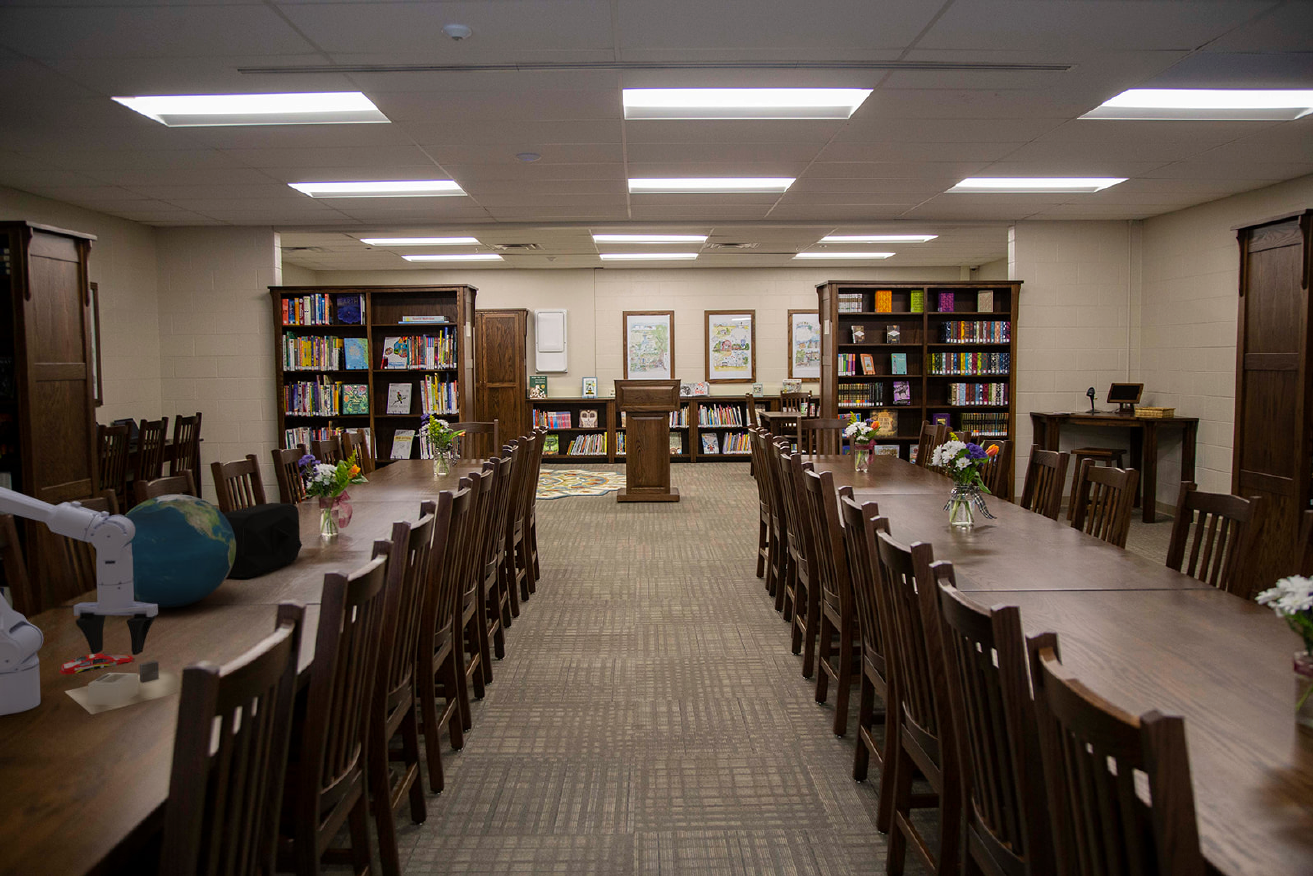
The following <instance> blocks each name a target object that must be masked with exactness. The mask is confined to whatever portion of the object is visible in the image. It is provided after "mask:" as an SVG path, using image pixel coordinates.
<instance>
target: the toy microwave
mask: <svg viewBox="0 0 1313 876" xmlns="http://www.w3.org/2000/svg"><path fill="white" fill-rule="evenodd" d="M87 686H89V705H121V704H122V703H124V702H126V701H127V700H129V699H131V698H132V697H134V696H136V695H137V694H138V673H137V672H136V673H132V672H127V673H125V672H108V673H105V674H103V675H101V676H100V677H98V678H96V679H94V680H92V681H90V682H88V685H87Z"/></svg>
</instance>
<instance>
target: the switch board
mask: <svg viewBox="0 0 1313 876" xmlns="http://www.w3.org/2000/svg"><path fill="white" fill-rule="evenodd" d="M159 668H160V667H159V661H158V660H153V661H147V662H142V663H139V674H138V694H137V695H136V696H134V697H132V698H131V699H129V700H127V701H126V702H124V703H122V704H121V705H89V686H88V685H86V686H81V687H78V688H73V689H69V690H64V693H66V694H67V695H68V696H69V697H70V698H71V699H72V700H74V701H75V702H76V703H77V704H79V705H80V706H81V707H82V708H83V709H85V710H86V711H87V712H89V714H91V715H95V714H99V713H104V712H108V711H111V710H115V709H119V708H123V707H126V706H127V707H128V706H131V705H135V704H140V703H143V702H148V701H151V700H154V699H160V698H164V697H167V696H171V695H176V694H179V687H180V678H181V677H182V676H181V675H179V674H177V673H176V672H175V671H172V670H171V669H170V668H169V667H166V668H161V669H159Z"/></svg>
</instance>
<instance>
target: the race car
mask: <svg viewBox="0 0 1313 876" xmlns="http://www.w3.org/2000/svg"><path fill="white" fill-rule="evenodd" d="M135 662H136V661H135V657H133V655H129V654H114V655H112V654H111V655H110V654H104V653H101V652H99V653H97V654H92V653H90V654H86V655H83V656H80V657H77V658H73V659H72V660H70V661H67V662H65V663H62V664H61V666H60V670H59V673H60V674H61V675H73V674H78V673H84V672H90V671H93V670H99V669H103V668H108V667H114V666H119V665H120V666H121V665H123V664H127V663H135Z"/></svg>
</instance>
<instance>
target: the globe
mask: <svg viewBox="0 0 1313 876" xmlns="http://www.w3.org/2000/svg"><path fill="white" fill-rule="evenodd" d="M223 514H224V513H223V512H222V511H220V510H219V509H218V508H217V507H216V506H215V505H213V504H211V503H210V502H208V501H206V500H204V499H202V498H199V497H196V496H192V495H187V494H177V493H176V494H164V495H160V496H159V495H158V496H157V497H156V496H155V497H152V498H150V499H147V500H145V501H143V502H140V503H139V504H137V505H136V506H134V507H133V508H131V509H130V510H129V511H128V512H127V513H125V515H123V516H124V517H126V518H128V519H130V520H131V521H132V522H133V524H134V526H135V535H134V537H133V539H132V540H131V541H130V542H129V543H132V556H133V590H134V601H135V600H136V602H142V603H149V604H158V608H164V609H166V608H167V609H170V608H172V609H173V608H179V607H186V606H188V605H191V604H195V603H197V602H199V601H202V600H203V599H205V598H207V597H208V596H210V595H211V594H212V593H214V592H215V591H216V590H217V589H218V588H220V586H221V585H222V584H223V583H224V581H225V580H226V578H228V577H227V576H228V574H229V572H230V570H231V569H232V566H233V563H234V559H235V554H236V540H235V535H234V532H233V529H232V527H231V525H230V523H229V521H228V520H227V518H226V517H225V516H224V515H223ZM129 543H127V544H129ZM127 544H126V545H127Z"/></svg>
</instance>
